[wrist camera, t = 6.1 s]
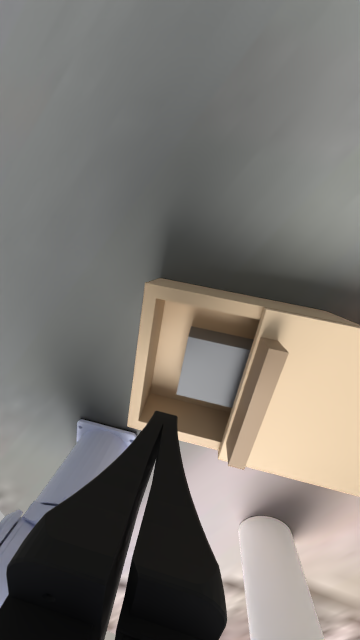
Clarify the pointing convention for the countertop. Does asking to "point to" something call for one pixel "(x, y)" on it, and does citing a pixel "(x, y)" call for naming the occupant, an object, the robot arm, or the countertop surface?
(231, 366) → the mailer box
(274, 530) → the cylindrical container
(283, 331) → the lid
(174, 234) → the countertop surface
